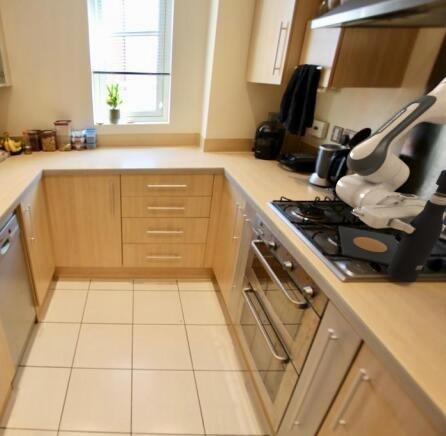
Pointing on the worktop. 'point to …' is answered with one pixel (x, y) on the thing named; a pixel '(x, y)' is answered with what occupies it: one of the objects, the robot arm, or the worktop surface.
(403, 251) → the wine bottle
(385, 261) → the centre mat
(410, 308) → the worktop surface
